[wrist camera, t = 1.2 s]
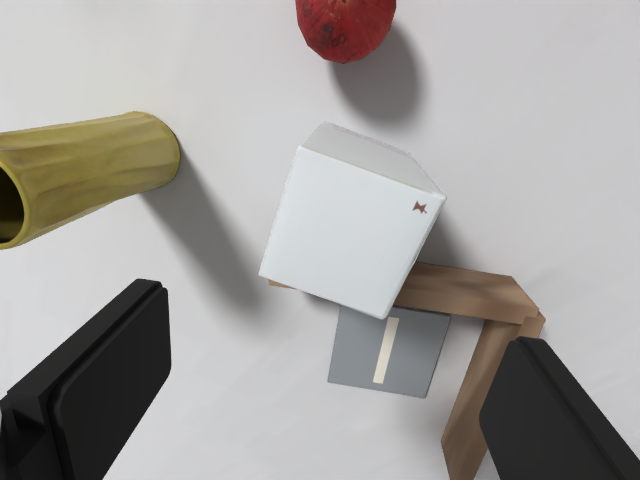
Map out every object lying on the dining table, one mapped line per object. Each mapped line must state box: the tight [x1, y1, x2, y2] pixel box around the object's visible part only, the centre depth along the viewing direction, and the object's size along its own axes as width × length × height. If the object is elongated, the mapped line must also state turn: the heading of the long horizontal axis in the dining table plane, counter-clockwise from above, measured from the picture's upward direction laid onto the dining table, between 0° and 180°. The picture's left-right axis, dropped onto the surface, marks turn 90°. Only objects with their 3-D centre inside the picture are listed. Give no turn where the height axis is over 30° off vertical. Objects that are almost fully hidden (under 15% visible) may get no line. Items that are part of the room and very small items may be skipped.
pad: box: [328, 305, 451, 398], centre depth 34 cm, size 10×10×1 cm
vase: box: [0, 111, 180, 250], centre depth 23 cm, size 6×6×14 cm
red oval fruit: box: [296, 0, 396, 64], centre depth 21 cm, size 6×6×8 cm
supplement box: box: [259, 122, 447, 320], centre depth 23 cm, size 7×7×13 cm
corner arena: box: [269, 262, 546, 480], centre depth 33 cm, size 21×21×5 cm
